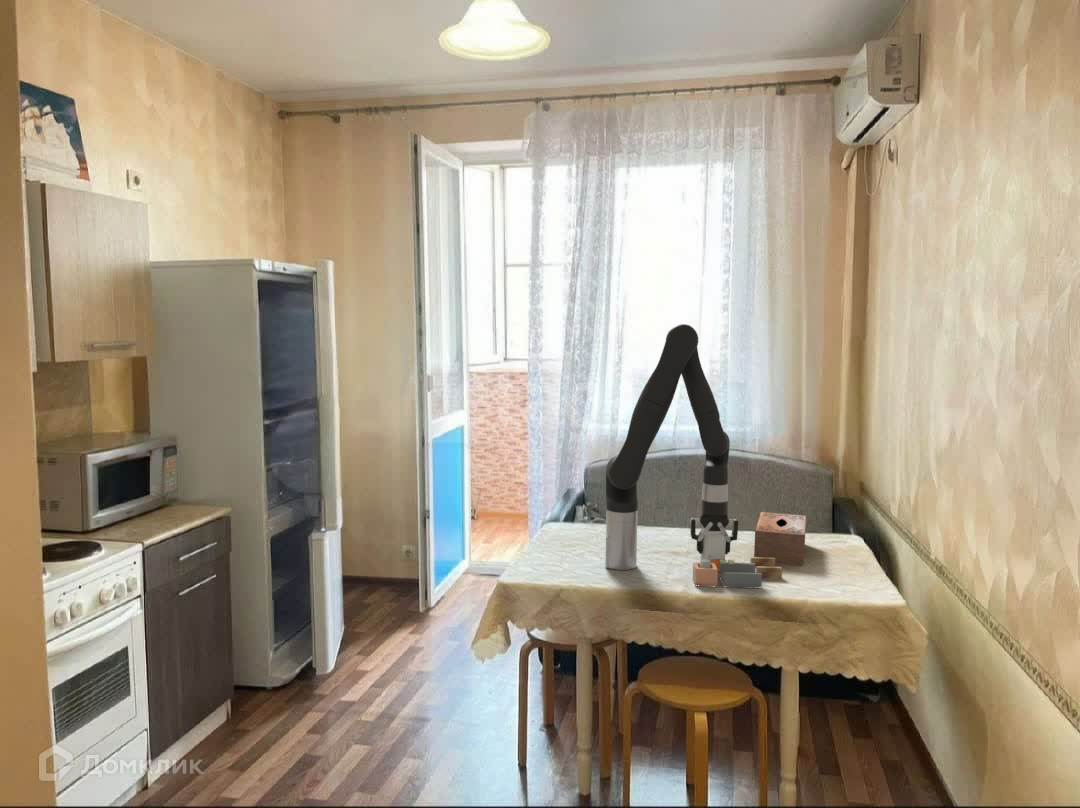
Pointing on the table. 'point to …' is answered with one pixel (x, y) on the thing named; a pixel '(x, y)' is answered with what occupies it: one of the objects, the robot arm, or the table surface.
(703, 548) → the skincare box
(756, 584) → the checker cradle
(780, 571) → the trough
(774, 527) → the tissue box cover
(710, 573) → the cup
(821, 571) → the table surface
